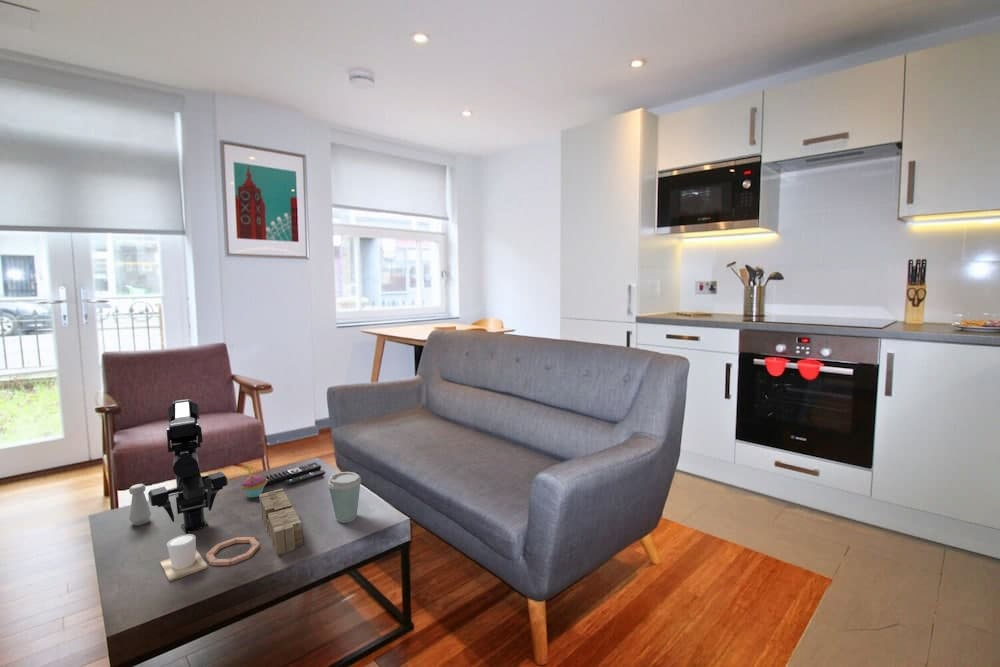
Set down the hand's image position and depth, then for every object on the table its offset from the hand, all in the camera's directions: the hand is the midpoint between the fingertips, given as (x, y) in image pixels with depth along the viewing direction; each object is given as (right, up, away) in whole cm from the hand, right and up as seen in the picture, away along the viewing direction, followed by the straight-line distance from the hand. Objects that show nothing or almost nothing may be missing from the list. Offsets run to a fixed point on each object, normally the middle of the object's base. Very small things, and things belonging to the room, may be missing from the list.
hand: (191, 515), depth 142 cm
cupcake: (-2, -7, +40) cm, 41 cm away
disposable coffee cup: (+38, -9, +21) cm, 45 cm away
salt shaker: (-30, -10, +21) cm, 38 cm away
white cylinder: (0, -12, -4) cm, 13 cm away
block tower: (+19, -11, +14) cm, 26 cm away
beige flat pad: (0, -13, -4) cm, 13 cm away
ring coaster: (+11, -12, +2) cm, 16 cm away
